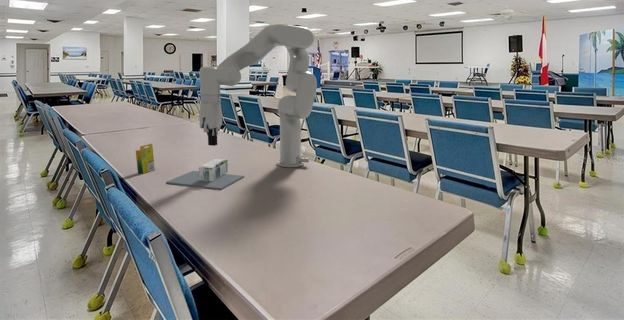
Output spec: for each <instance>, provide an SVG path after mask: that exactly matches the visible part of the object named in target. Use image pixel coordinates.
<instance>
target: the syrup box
mask: <svg viewBox="0 0 624 320" xmlns="http://www.w3.org/2000/svg"><path fill="white" fill-rule="evenodd" d="M228 165H229V162H228V159H227V158H226V159H225V158H224V159H223V158H214V159H212V160H210V161H208V162H206V163H204V164H202V165H199V166H198V171H199V180H201V181H214V180H215V179H217V178H219V177H220V176H222V175H224V174H228V169H229V168H228V167H229V166H228Z"/></svg>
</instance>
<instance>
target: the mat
mask: <svg viewBox="0 0 624 320" xmlns="http://www.w3.org/2000/svg"><path fill="white" fill-rule="evenodd" d="M244 178H245V175H241V174H240V175H239V174H231V173H229V174H228V173H226V174H224V175H222V176H220V177H219V178H217V179H215V180H214V181H201V180H199V170H191V171H189V172H187V173H183V174H182V175H180V176H176V177H174V178H172V179H169V180H167V181H165V184H170V185H176V186H185V187H194V188H195V187H196V188H202V189H211V190H219V191H222V190H224V189H225V188H227V187H229V186H231V185H233V184H235V183H236V182H238V181H241V180H242V179H244Z"/></svg>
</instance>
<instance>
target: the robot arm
mask: <svg viewBox="0 0 624 320" xmlns="http://www.w3.org/2000/svg"><path fill="white" fill-rule="evenodd" d="M314 36H315V35H314V33H313V32H312V31H311V29H310V28H307V27H304V26H297V25H291V24H284V23H277V24H275V23H274V24H269V25H267V26H265V27H264V28H263V29H261V30H260V31H259V32H258V33H257V34H256V35H255V36H254V37H253V38H251V39H250V41H248V42H247V43H246V44H245V45H243V46H242V47H240V48H239V49H237V50H236V51H235V52H233V53H231V54H230V55H228V56H227V57H226V58H225V59H224V60H223V61H222V62H220V63H219V64H218V65H217V66H201V67H200V69H199V89H200V106H199V119H198V120H199V128H200V129H203V133H206V136H207V144H208V146H213V147H215V146H218V134H219V130H220V129H221V126H222V125H223V111H222V105H221V101H222V100H221V86H227V87H234V86H236V85H238V84H239V83H240V82H241V79H242V73H241V71H242V70H244V69H245V68H248V67H250V66H254V65H256V64H258V63H259V62H261V61H262V60H263V59H264V58H265V57H266V56H267V55H268V54H269V53H270V52H271V51H272V50H273V49H275V48H276V47H277V46H279V47H281V46H283V47H285V48H286V50H287V51H288V53H289V66H288V70H287V75H286V79H285V87H286V89H287V90H288V92H290V93H293V95H291V94H290V95H288V94H287V95H284V96H282V97H281V98H280V99H279V100H278V103H277V112H278V117H279V118H278V119H279V158H280V159H279V160H277V161H276V165H277V166H278V167H282V168H298V167H303V166H304V165H305V163H310V158H309V157H304V156H303V155H304V154H303V153H302V152H301V151H302V148H301V147H302V137H301V136H302V124H301V120H303V119H306V118H308V117H309V116H310V115H311V112H312V110H313V108H314V102H315V97H316V94H317V88H318V80H317V78H316V76H315V74H314V73H312V72H310V71H309V65H310V56H309V53H308V51H307V49H308V48H310V47H311V46H313V43H314V41H315V40H314V39H315V37H314ZM294 94H295V95H294Z"/></svg>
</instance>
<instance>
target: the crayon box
mask: <svg viewBox="0 0 624 320" xmlns="http://www.w3.org/2000/svg"><path fill="white" fill-rule="evenodd" d="M139 148H140V149H137V150H135V156H136V167H137V168H136V169H137V173H138V174H142V175H143V174H146V173H149V172H151V171H155V170H156V168H155V159H154V158H155V157H154V148H153V143H149V144H145V145H141V146H140V147H139Z"/></svg>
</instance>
